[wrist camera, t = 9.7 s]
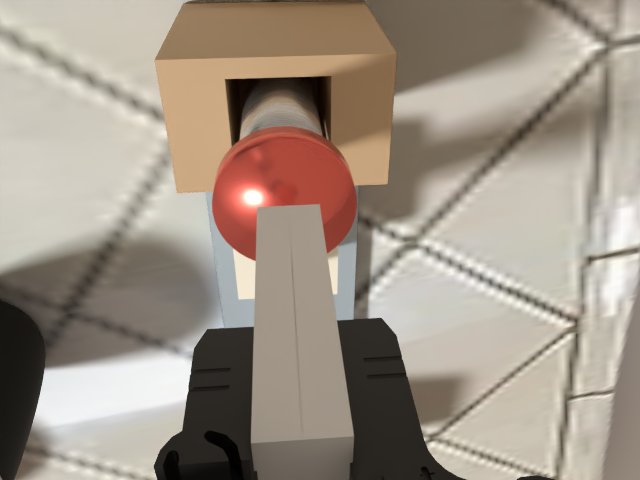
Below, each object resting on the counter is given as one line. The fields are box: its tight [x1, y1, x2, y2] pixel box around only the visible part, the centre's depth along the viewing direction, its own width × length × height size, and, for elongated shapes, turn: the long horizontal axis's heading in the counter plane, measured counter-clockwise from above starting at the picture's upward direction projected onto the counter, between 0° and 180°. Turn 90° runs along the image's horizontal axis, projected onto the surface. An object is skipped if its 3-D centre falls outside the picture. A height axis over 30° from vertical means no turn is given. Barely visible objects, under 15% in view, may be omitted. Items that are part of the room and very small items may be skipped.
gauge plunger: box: [212, 77, 357, 261], centre depth 19 cm, size 4×4×9 cm
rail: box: [155, 0, 397, 328], centre depth 31 cm, size 32×8×9 cm, turn 0°
